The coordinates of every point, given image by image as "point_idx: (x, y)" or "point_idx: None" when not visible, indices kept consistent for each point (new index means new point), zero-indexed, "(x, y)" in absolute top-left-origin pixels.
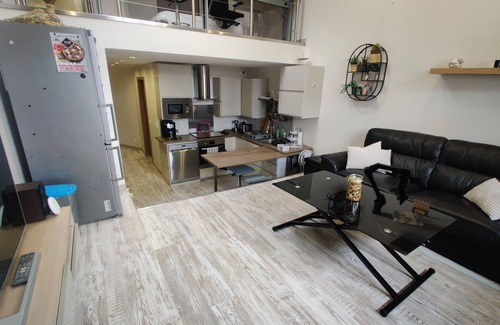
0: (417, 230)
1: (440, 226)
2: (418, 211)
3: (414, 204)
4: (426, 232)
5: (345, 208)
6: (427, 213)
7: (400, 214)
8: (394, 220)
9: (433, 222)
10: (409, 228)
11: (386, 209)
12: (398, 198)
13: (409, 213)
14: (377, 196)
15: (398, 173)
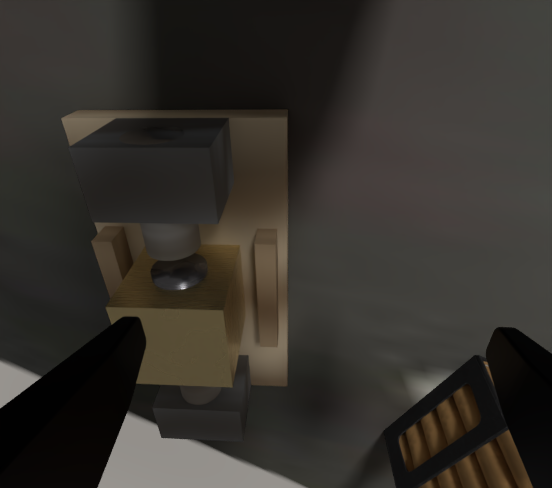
0: (17, 305)
1: (228, 454)
2: (444, 420)
3: (519, 471)
4: (36, 357)
5: None
6: (392, 468)
7: (141, 229)
8: (94, 111)
9: (283, 439)
10: (3, 247)
11: (539, 45)
12: (522, 412)
13: (155, 354)
14: None
15: None
